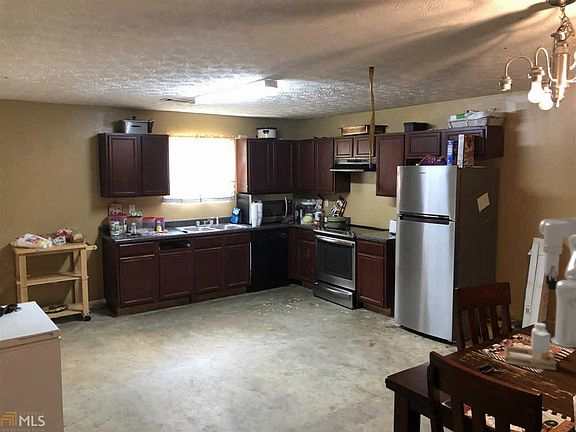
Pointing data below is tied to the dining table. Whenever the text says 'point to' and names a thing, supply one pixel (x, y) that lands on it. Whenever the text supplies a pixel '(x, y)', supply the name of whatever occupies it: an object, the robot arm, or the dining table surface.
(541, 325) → the supplement bottle
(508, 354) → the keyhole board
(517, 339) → the dining table surface
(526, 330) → the dining table surface
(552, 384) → the dining table surface
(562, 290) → the robot arm
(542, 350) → the skincare box
